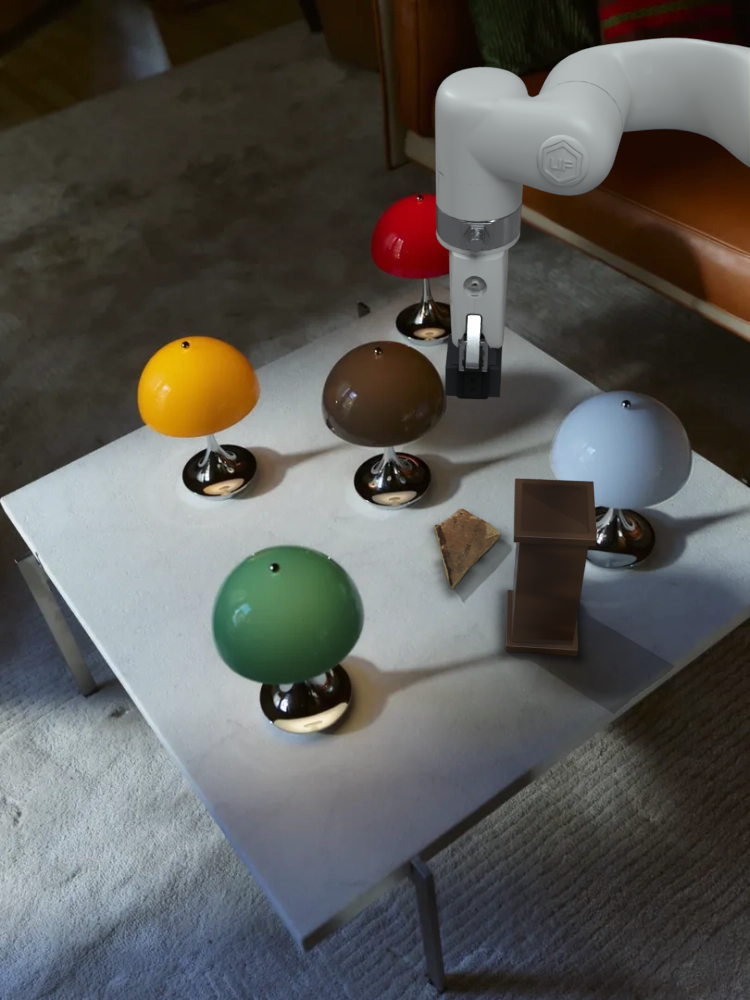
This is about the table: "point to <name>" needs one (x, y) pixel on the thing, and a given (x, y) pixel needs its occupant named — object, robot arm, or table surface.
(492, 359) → the dark grey block
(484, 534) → the shard
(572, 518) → the pedestal
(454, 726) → the table surface
